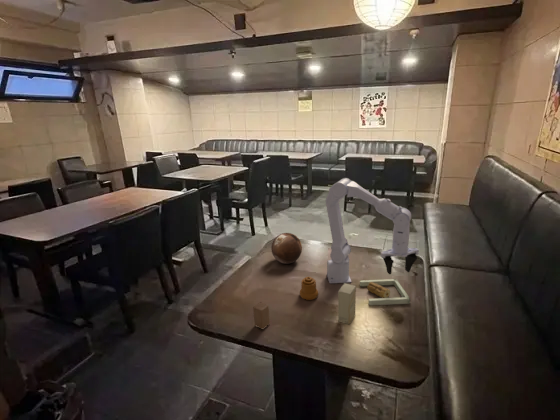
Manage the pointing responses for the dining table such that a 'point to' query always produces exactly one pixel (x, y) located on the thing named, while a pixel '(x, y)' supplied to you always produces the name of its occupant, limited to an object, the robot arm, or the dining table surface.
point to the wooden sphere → (286, 248)
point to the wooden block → (261, 315)
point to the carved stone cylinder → (378, 290)
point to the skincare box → (346, 303)
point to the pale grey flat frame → (386, 301)
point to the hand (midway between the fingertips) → (398, 272)
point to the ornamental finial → (308, 289)
